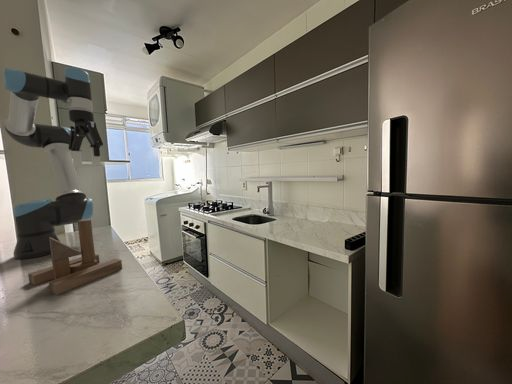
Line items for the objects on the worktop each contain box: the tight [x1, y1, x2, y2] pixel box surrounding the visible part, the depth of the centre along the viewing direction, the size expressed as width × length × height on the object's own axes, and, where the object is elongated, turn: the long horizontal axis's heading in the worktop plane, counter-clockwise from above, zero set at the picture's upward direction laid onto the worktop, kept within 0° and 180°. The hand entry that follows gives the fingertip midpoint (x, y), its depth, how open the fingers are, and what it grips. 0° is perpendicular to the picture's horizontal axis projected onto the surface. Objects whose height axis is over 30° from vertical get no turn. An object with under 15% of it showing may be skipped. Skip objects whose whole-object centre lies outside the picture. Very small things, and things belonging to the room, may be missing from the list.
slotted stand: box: [27, 253, 123, 296], centre depth 71 cm, size 18×18×3 cm
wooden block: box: [49, 218, 99, 280], centre depth 70 cm, size 4×11×18 cm, turn 140°
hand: (87, 166), depth 86 cm, fingers open, 13 cm apart
